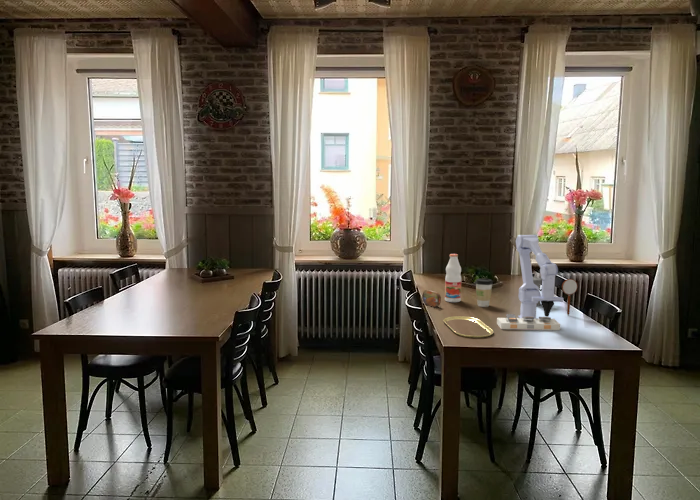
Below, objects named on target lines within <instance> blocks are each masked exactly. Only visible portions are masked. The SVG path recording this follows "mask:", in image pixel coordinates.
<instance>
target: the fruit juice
mask: <svg viewBox="0 0 700 500" xmlns="http://www.w3.org/2000/svg"><path fill="white" fill-rule="evenodd" d="M458 257H459V254H457V253H450V254H449V260H448V263H447V265H446V267H445V273H446V274H445V278H444V279H445V280H444V281H445V282H444V301H446V302H448V303H459V302H461V300H462V275H461V272H462V267H461V265H460V262H459V259H458Z"/></svg>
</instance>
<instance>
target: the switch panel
mask: <svg viewBox="0 0 700 500" xmlns="http://www.w3.org/2000/svg"><path fill="white" fill-rule="evenodd" d="M516 318H517V321H508V319H507V317H497V318H496V325H498V327H499V328H500V330H532V331H533V330H535V331H536V330H538V331H561V323H560V322H558V321H557V320H556V319H555V318H551V320H544V319H539V317H538V318H537V317H536V318H534V319H523V318H519V317H516Z"/></svg>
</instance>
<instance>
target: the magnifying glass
mask: <svg viewBox="0 0 700 500" xmlns="http://www.w3.org/2000/svg"><path fill="white" fill-rule="evenodd" d="M578 287H579V285H578V281H576V280H575V279H574V278H567V279H565V280H564V281H563V282H562V284H561V290H562V292H563V293H564V294H565V295H567V308H566V309H567V310H566V315H567V317H568V316H570V313H571V312H570V311H571V295H574V294H575V293H576V292H577V291H578Z"/></svg>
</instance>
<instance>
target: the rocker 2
mask: <svg viewBox="0 0 700 500" xmlns="http://www.w3.org/2000/svg"><path fill="white" fill-rule="evenodd" d="M538 318H539V319H544V320H551V319H552V317H550V316H549V317H546V316H538Z"/></svg>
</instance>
